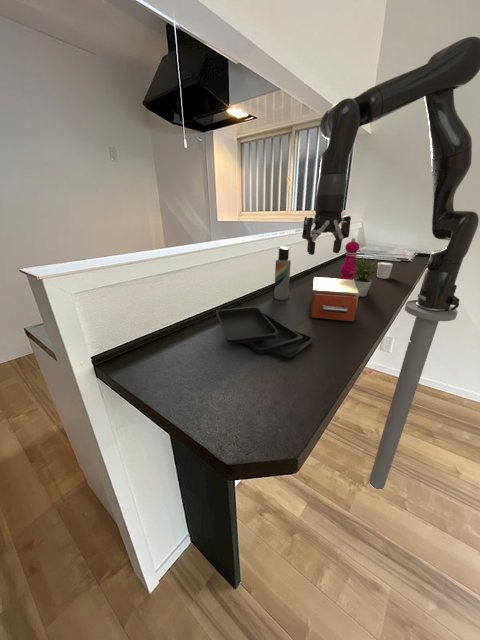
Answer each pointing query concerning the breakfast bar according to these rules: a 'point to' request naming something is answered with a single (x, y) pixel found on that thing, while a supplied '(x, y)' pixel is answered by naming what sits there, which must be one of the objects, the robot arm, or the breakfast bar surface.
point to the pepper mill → (351, 252)
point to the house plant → (363, 276)
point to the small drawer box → (334, 289)
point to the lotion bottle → (282, 274)
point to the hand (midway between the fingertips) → (323, 253)
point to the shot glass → (384, 269)
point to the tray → (262, 332)
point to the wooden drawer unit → (334, 306)
